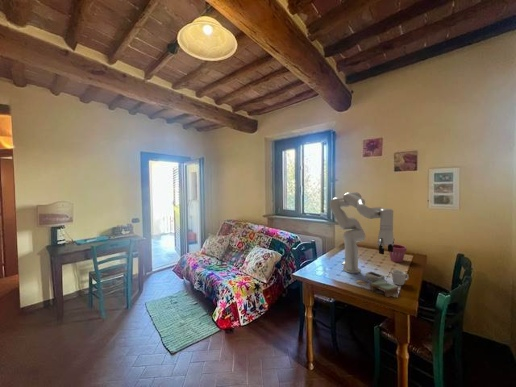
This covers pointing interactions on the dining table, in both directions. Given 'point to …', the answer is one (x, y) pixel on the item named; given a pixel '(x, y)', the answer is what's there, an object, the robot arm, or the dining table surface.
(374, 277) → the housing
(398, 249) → the plant pot
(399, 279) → the cup
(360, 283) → the coaster
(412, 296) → the dining table surface
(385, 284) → the stand
